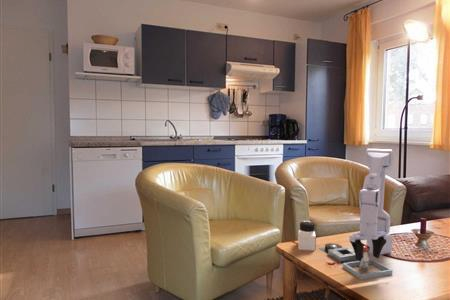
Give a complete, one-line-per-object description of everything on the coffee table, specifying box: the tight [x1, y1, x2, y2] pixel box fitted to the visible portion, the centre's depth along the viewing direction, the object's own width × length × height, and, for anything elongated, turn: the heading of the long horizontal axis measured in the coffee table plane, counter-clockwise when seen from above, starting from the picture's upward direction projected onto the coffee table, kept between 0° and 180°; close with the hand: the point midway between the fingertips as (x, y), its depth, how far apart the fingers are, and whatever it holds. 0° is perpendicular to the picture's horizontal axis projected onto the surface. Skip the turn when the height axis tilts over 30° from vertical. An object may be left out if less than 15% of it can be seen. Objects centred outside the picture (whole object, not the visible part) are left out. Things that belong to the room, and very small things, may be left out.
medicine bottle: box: [297, 220, 317, 251], centre depth 145 cm, size 7×7×12 cm
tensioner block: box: [318, 242, 359, 264], centre depth 138 cm, size 10×16×3 cm, turn 17°
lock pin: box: [358, 244, 370, 272], centre depth 123 cm, size 4×4×9 cm
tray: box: [342, 258, 393, 280], centre depth 122 cm, size 13×10×2 cm
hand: (367, 258), depth 122 cm, fingers open, 7 cm apart
